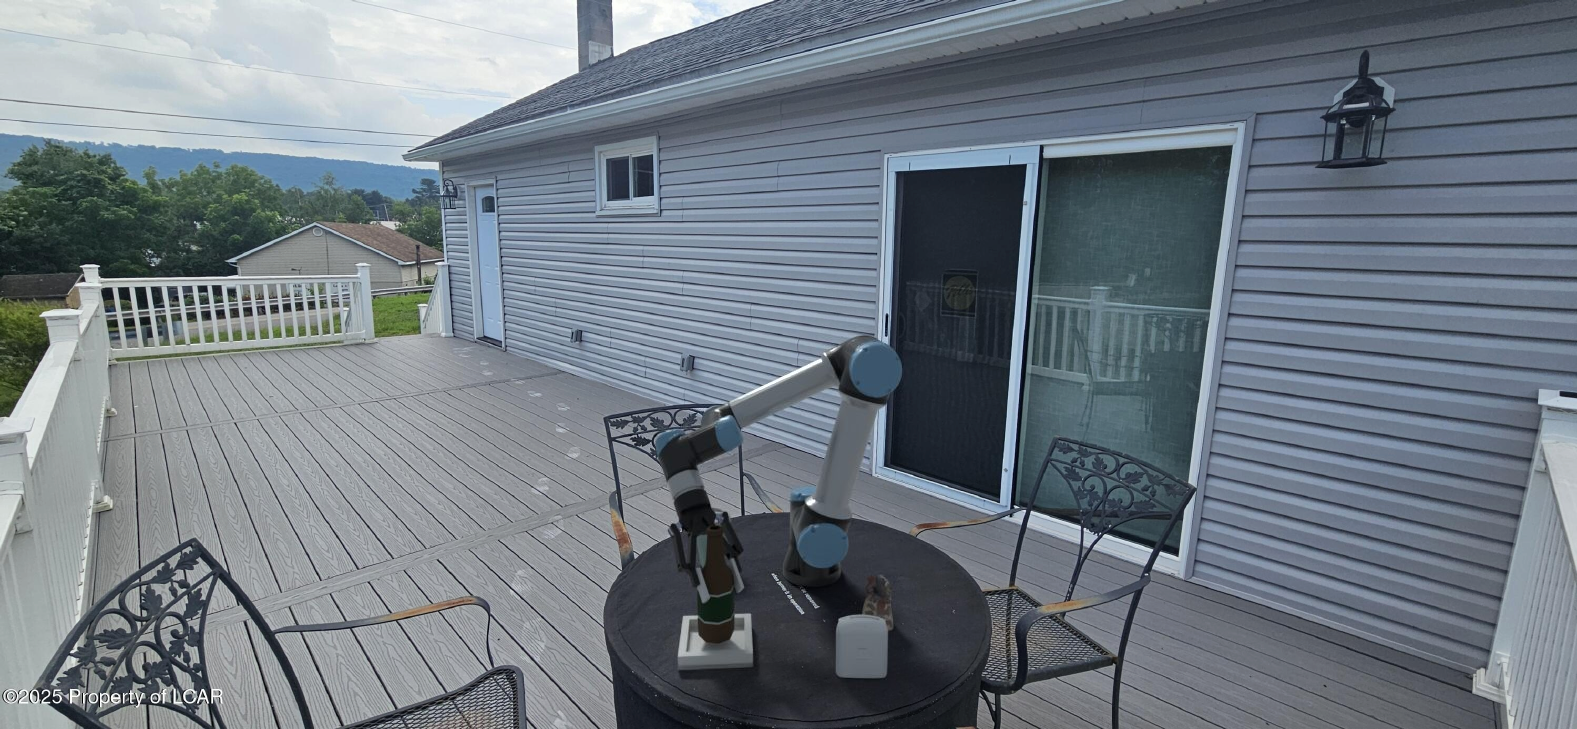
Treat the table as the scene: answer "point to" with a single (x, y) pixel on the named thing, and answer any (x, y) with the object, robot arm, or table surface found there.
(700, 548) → the disposable coffee cup
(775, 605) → the table surface
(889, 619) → the figurine
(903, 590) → the table surface
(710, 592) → the beer bottle
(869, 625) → the photo printer
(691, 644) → the dock tray
